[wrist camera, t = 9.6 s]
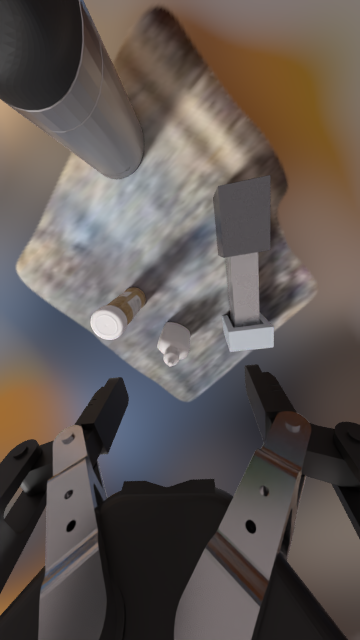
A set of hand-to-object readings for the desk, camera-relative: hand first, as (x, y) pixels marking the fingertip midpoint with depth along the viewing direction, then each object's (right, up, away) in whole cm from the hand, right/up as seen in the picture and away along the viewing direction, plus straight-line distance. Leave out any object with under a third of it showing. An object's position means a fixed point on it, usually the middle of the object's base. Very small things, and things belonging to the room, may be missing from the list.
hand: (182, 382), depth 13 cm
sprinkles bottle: (-9, +8, +26) cm, 29 cm away
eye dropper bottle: (-1, +2, +28) cm, 28 cm away
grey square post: (+11, +11, +23) cm, 27 cm away
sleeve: (+9, +20, +20) cm, 29 cm away
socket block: (+12, +4, +26) cm, 29 cm away
